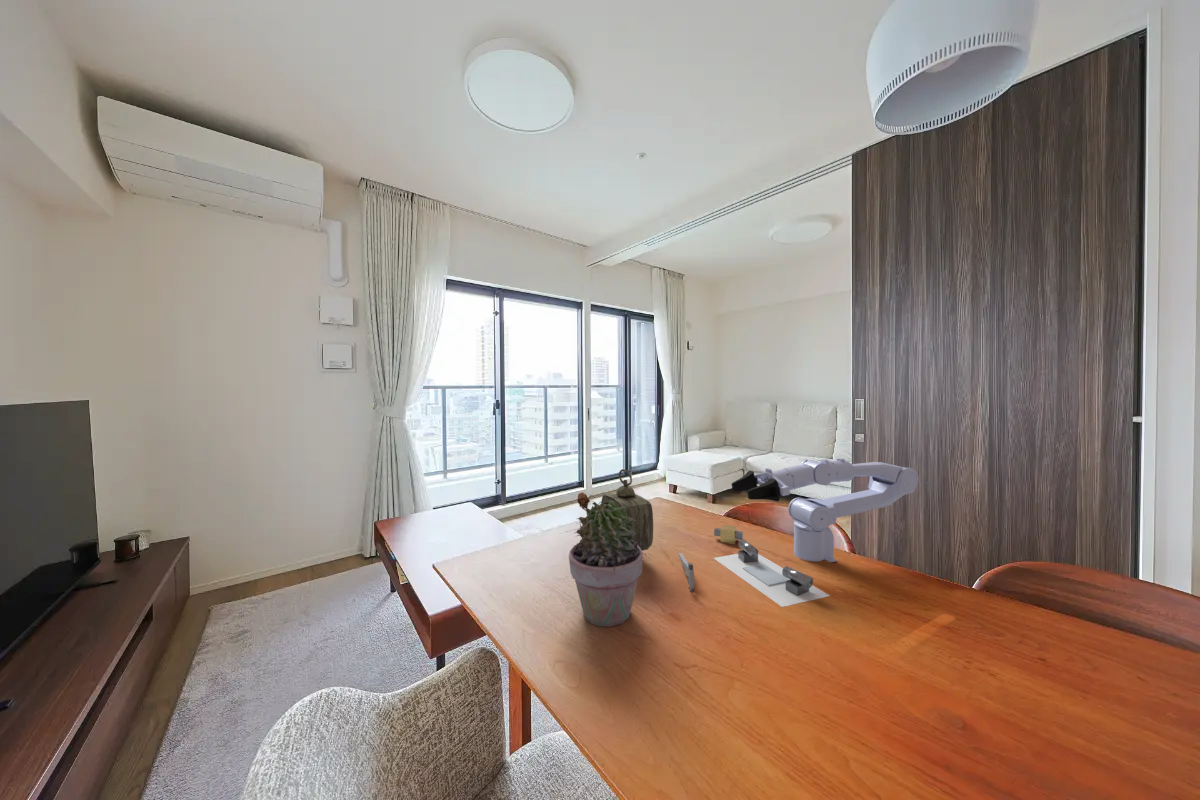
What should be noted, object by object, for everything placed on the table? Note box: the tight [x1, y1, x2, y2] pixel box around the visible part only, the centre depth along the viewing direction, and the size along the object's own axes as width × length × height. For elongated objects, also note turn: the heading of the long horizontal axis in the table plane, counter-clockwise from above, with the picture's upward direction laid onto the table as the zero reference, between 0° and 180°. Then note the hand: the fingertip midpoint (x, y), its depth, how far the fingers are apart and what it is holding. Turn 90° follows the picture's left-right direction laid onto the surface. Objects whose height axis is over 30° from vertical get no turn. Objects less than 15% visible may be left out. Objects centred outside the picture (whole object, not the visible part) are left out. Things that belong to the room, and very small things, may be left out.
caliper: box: [678, 552, 695, 593], centre depth 102 cm, size 20×1×6 cm, turn 177°
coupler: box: [713, 524, 744, 545], centre depth 119 cm, size 4×8×5 cm, turn 63°
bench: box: [713, 553, 831, 608], centre depth 97 cm, size 13×25×1 cm, turn 18°
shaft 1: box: [737, 538, 759, 563], centre depth 106 cm, size 6×4×4 cm, turn 8°
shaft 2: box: [782, 565, 814, 596], centre depth 90 cm, size 6×4×4 cm, turn 28°
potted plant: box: [559, 491, 657, 628], centre depth 83 cm, size 18×20×25 cm
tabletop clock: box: [601, 468, 654, 552], centre depth 109 cm, size 14×9×25 cm, turn 25°
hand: (740, 491), depth 103 cm, fingers open, 7 cm apart
